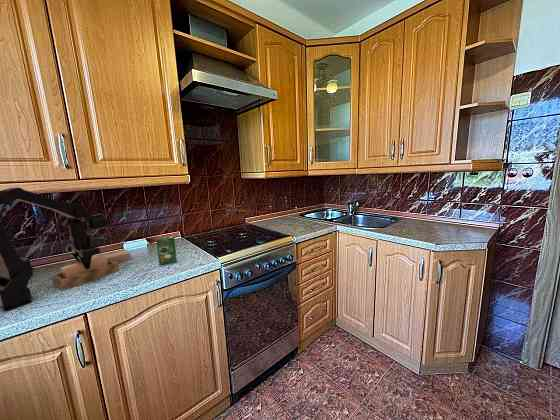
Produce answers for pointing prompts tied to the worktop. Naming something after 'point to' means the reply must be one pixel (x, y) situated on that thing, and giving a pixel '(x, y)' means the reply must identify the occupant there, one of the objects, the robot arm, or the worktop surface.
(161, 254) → the coffee box
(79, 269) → the clay strip
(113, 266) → the wooden open tray
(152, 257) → the worktop surface
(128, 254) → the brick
